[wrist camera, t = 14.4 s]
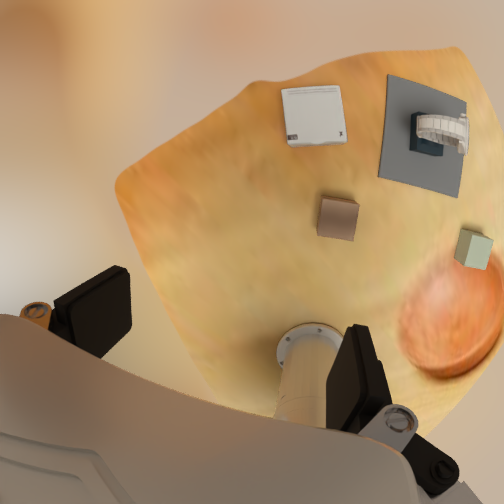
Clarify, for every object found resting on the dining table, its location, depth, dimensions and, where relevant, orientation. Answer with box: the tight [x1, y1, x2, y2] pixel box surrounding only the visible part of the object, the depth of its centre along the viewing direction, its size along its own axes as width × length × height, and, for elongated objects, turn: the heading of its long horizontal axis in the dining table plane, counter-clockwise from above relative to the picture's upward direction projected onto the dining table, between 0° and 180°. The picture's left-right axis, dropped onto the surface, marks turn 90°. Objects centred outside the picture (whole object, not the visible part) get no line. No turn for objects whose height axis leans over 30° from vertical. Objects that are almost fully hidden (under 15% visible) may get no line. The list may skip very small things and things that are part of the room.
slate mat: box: [378, 74, 466, 198], centre depth 33 cm, size 16×14×1 cm
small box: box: [281, 85, 348, 147], centre depth 34 cm, size 8×8×5 cm
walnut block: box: [317, 196, 359, 241], centre depth 38 cm, size 5×5×4 cm
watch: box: [409, 111, 469, 156], centre depth 27 cm, size 6×8×11 cm
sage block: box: [454, 229, 493, 270], centre depth 34 cm, size 5×5×4 cm
